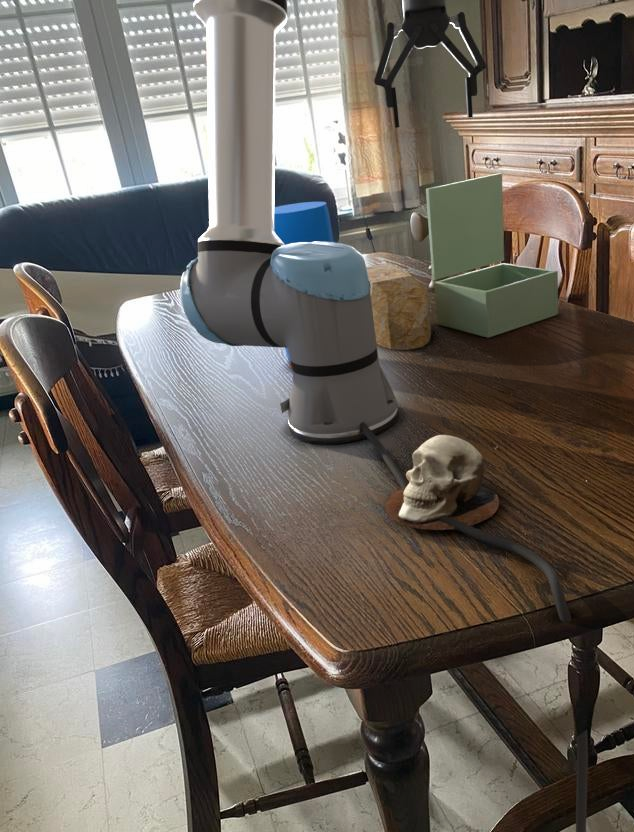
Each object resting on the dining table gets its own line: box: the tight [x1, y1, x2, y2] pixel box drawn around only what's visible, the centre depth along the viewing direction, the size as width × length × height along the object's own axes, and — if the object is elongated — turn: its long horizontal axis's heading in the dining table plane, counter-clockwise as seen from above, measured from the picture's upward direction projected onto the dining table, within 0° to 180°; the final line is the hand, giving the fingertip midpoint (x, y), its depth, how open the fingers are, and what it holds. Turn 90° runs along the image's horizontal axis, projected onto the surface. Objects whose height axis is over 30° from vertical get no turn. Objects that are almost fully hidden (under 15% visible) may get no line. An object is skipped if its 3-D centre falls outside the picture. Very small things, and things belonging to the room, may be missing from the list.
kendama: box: [410, 211, 449, 291], centre depth 159 cm, size 6×10×20 cm, turn 113°
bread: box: [366, 262, 432, 351], centre depth 142 cm, size 36×11×10 cm, turn 16°
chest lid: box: [425, 172, 505, 280], centre depth 138 cm, size 15×17×6 cm
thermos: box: [274, 201, 334, 370], centre depth 123 cm, size 11×11×25 cm
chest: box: [434, 262, 559, 339], centre depth 136 cm, size 15×17×8 cm
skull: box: [384, 434, 500, 531], centre depth 79 cm, size 12×10×10 cm
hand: (433, 122), depth 139 cm, fingers open, 13 cm apart
